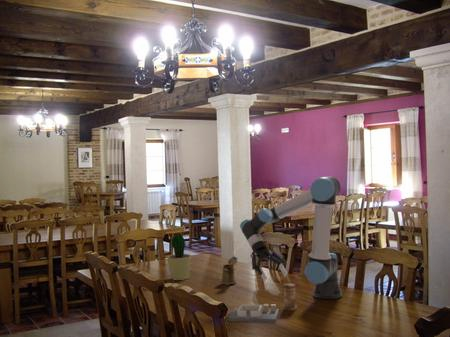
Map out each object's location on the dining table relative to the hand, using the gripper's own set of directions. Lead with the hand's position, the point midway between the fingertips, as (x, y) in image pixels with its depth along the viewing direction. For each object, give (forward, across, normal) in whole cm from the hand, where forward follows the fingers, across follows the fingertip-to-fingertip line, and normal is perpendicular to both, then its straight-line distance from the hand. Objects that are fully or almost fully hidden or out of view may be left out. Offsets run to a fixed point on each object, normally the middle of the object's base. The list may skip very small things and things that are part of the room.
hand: (276, 277), depth 248 cm
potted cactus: (-51, +11, -71) cm, 88 cm away
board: (+16, +20, -4) cm, 26 cm away
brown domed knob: (+17, 0, -3) cm, 17 cm away
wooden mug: (-26, -5, -47) cm, 54 cm away
